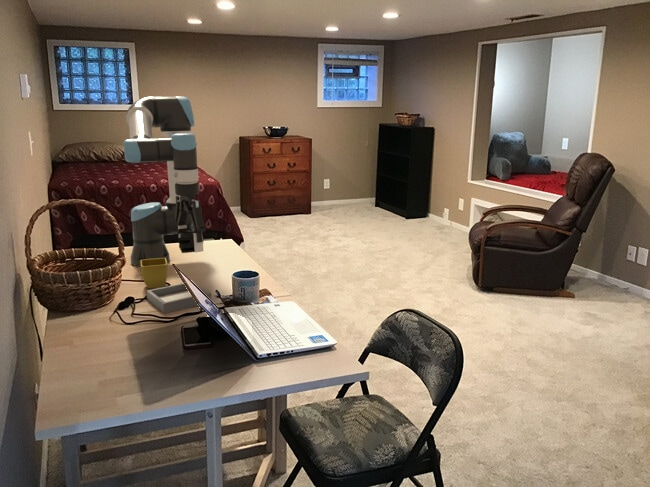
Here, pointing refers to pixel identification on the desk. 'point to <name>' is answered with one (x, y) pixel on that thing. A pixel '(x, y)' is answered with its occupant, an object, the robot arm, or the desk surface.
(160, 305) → the holder tray
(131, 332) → the desk surface
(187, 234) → the end cap
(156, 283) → the flower pot
